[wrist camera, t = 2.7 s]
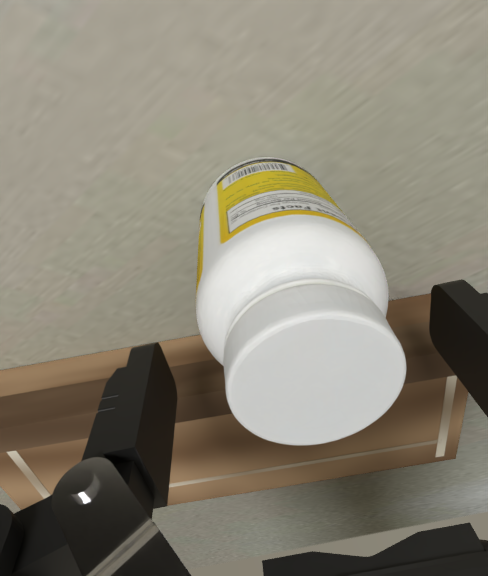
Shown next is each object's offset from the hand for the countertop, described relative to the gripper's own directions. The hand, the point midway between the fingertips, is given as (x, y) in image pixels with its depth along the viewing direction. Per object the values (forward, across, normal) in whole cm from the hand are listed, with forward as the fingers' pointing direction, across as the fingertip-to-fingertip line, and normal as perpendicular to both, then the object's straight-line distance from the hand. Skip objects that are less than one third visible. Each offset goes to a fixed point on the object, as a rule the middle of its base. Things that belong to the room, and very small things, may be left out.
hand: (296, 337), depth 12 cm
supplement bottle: (+7, 0, -1) cm, 7 cm away
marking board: (+7, +4, +10) cm, 13 cm away
